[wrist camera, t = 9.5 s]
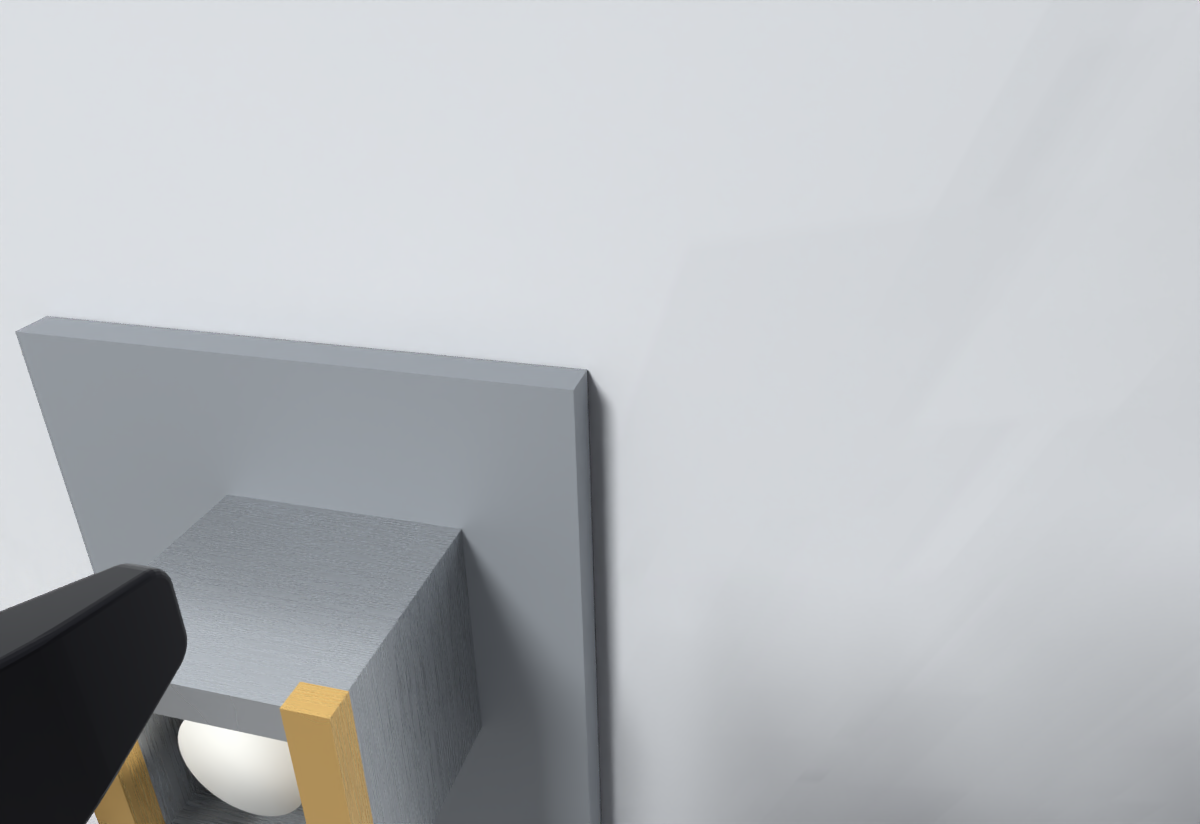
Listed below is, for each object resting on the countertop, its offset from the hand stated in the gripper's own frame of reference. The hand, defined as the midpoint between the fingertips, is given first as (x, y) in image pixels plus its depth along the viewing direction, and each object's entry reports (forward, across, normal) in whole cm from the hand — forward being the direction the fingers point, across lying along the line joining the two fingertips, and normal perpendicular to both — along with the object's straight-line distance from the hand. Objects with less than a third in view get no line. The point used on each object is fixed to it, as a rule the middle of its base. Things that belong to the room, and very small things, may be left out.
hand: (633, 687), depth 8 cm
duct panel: (+12, +11, +12) cm, 20 cm away
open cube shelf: (+11, +10, +10) cm, 18 cm away
